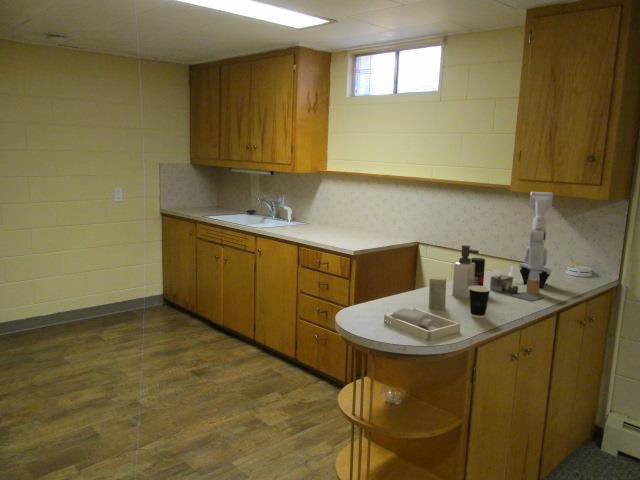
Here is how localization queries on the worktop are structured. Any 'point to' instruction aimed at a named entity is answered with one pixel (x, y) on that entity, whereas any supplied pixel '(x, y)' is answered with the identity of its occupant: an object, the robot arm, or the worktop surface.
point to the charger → (413, 317)
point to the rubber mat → (527, 296)
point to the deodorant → (478, 271)
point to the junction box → (501, 283)
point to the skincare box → (437, 293)
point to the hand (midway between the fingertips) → (533, 286)
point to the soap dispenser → (464, 274)
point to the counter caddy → (447, 329)
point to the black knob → (513, 289)
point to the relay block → (533, 286)
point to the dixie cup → (478, 300)
